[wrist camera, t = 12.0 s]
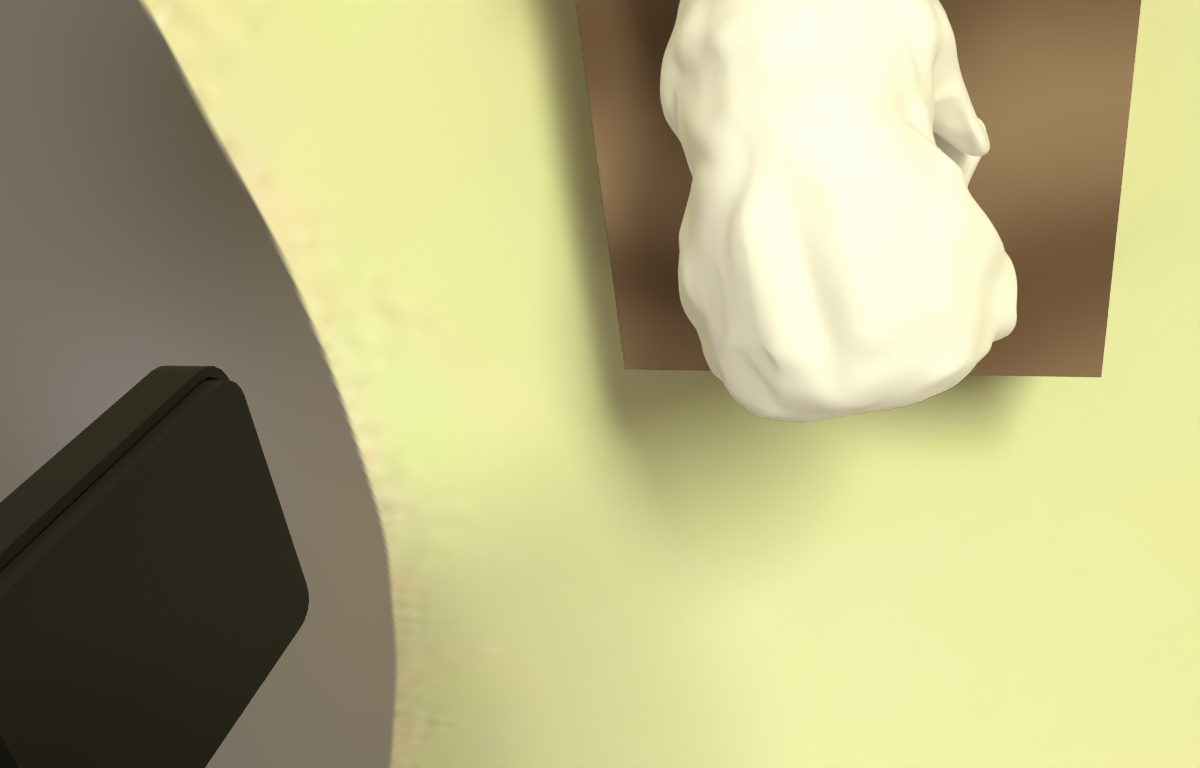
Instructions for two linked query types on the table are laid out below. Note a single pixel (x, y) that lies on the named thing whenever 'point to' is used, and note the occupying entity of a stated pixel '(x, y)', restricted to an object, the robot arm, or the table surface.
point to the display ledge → (998, 185)
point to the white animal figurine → (832, 204)
